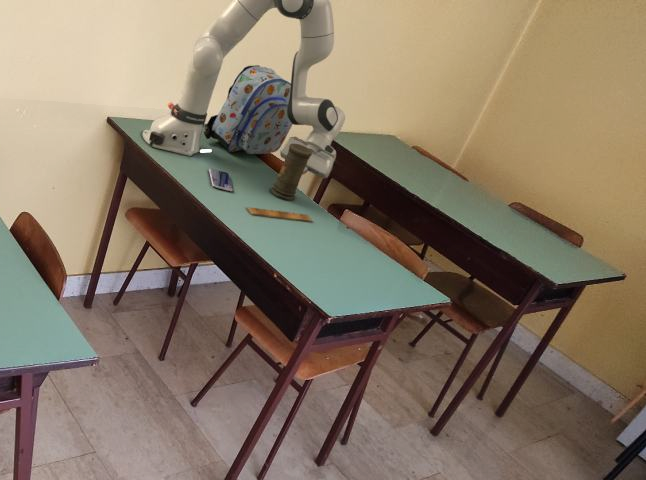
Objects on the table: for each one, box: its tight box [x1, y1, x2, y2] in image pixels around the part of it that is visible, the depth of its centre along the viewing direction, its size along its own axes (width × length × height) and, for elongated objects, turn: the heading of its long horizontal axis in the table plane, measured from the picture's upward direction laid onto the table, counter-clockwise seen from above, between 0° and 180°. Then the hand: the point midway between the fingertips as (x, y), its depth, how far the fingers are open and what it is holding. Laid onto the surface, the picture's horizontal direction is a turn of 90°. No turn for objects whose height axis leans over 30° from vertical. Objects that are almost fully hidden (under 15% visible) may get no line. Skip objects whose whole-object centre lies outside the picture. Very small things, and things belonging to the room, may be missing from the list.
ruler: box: [247, 207, 313, 223], centre depth 208 cm, size 24×4×1 cm, turn 110°
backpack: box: [203, 64, 293, 155], centre depth 242 cm, size 33×25×31 cm
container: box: [270, 144, 312, 201], centre depth 219 cm, size 9×9×18 cm
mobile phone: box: [208, 168, 234, 192], centre depth 216 cm, size 8×1×15 cm
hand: (295, 175), depth 226 cm, fingers closed
